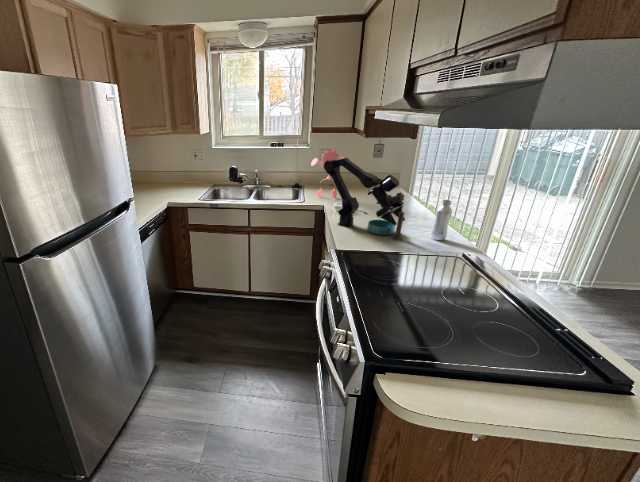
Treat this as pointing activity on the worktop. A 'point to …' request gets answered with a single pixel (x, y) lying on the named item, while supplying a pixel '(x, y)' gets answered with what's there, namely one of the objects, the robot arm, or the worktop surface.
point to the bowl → (380, 227)
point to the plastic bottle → (442, 221)
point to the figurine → (327, 156)
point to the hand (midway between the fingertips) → (400, 222)
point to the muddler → (399, 227)
